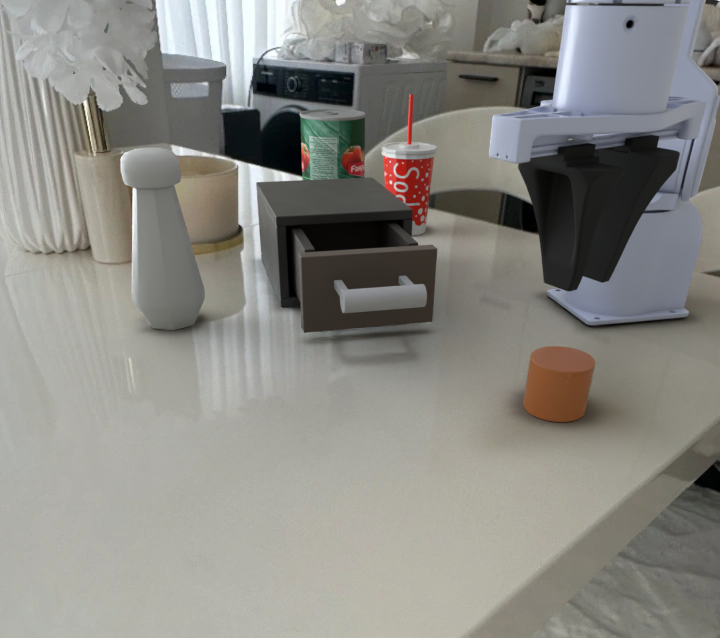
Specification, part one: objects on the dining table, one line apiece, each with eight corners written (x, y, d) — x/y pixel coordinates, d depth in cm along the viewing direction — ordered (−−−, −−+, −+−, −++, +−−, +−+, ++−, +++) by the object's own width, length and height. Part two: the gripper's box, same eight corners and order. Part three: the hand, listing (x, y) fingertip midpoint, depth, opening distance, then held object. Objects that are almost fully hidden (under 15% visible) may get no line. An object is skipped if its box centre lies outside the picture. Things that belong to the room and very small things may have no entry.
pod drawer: (452, 344, 53) (458, 267, 50) (315, 357, 51) (312, 277, 48) (390, 273, 67) (392, 209, 64) (280, 281, 65) (276, 215, 62)
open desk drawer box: (409, 297, 64) (413, 209, 60) (280, 307, 62) (275, 216, 57) (371, 254, 75) (372, 177, 71) (261, 261, 73) (256, 181, 68)
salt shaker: (191, 337, 56) (167, 158, 49) (124, 331, 57) (91, 155, 50) (218, 311, 61) (200, 145, 54) (155, 305, 62) (129, 142, 55)
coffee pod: (567, 391, 49) (576, 343, 47) (596, 418, 46) (607, 368, 44) (513, 397, 48) (520, 348, 46) (539, 425, 45) (547, 374, 43)
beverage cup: (369, 232, 82) (371, 94, 74) (395, 221, 86) (400, 90, 79) (416, 240, 79) (423, 98, 72) (440, 228, 84) (450, 93, 76)
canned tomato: (370, 215, 89) (371, 116, 83) (307, 217, 87) (304, 117, 81) (358, 200, 95) (358, 108, 89) (299, 202, 94) (296, 109, 88)
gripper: (650, 5, 41) (603, 246, 48) (458, 4, 34) (438, 284, 41) (768, 7, 36) (695, 274, 43) (572, 5, 29) (526, 322, 37)
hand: (576, 281), depth 42 cm, fingers closed
